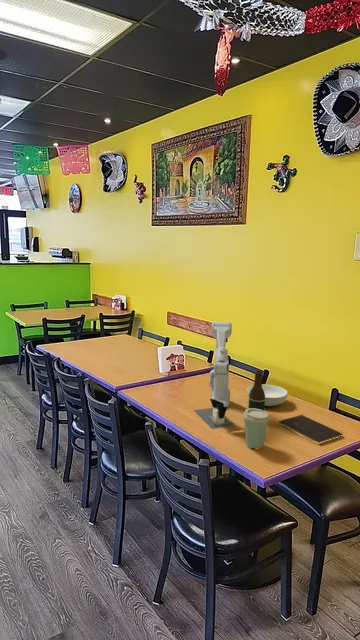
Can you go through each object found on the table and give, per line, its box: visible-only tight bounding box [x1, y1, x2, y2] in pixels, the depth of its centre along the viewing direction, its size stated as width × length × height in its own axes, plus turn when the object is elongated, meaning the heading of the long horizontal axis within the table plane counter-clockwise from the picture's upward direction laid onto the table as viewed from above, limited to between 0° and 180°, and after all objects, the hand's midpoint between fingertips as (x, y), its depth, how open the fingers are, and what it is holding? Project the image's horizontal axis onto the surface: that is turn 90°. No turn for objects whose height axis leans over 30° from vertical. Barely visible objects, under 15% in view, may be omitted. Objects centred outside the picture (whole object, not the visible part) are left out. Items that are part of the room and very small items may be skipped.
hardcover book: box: [278, 414, 344, 443], centre depth 188 cm, size 16×23×2 cm
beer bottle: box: [247, 370, 266, 411], centre depth 195 cm, size 8×8×24 cm
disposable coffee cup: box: [243, 408, 270, 449], centre depth 170 cm, size 11×11×15 cm
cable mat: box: [193, 407, 237, 430], centre depth 196 cm, size 12×22×1 cm, turn 20°
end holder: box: [208, 415, 231, 426], centre depth 192 cm, size 8×7×2 cm
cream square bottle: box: [212, 407, 224, 424], centre depth 191 cm, size 4×4×7 cm
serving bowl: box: [246, 383, 289, 407], centre depth 219 cm, size 21×21×7 cm
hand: (218, 415), depth 191 cm, fingers open, 5 cm apart
